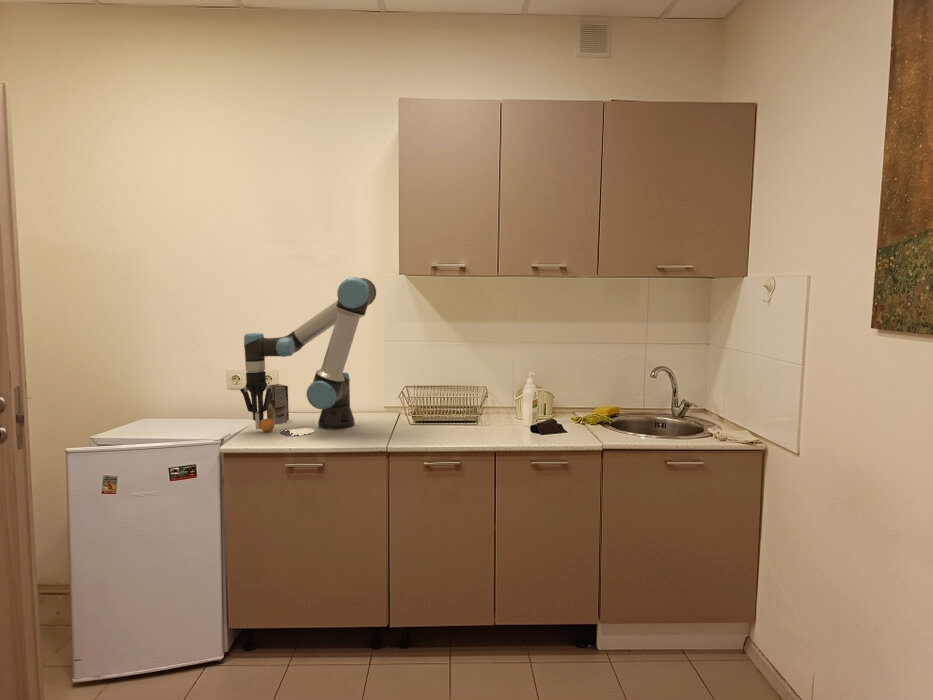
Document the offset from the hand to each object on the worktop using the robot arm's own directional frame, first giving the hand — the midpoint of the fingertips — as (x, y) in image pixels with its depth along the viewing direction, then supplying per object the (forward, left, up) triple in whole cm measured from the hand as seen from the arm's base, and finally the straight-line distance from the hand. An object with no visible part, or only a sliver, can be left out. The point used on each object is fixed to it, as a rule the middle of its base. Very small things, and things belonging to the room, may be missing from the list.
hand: (258, 428), depth 238 cm
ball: (-4, 0, +1) cm, 4 cm away
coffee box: (-1, -19, -2) cm, 19 cm away
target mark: (-16, 0, -2) cm, 16 cm away
